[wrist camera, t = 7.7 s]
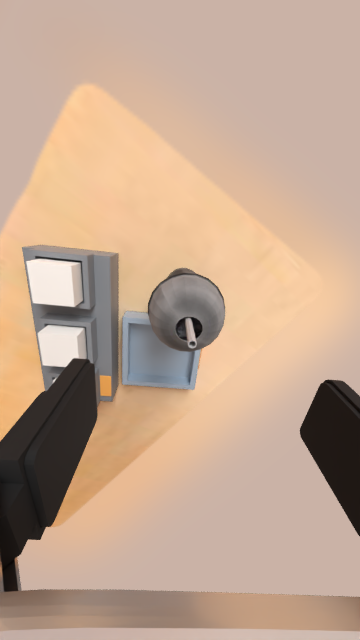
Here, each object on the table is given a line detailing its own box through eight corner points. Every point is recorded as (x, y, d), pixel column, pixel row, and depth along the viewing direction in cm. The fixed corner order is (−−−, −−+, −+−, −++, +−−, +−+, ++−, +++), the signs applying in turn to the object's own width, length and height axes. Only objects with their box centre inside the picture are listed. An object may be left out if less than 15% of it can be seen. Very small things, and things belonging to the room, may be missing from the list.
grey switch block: (118, 385, 38) (104, 422, 30) (59, 380, 37) (30, 418, 30) (118, 252, 29) (98, 259, 22) (41, 244, 29) (-6, 248, 21)
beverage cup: (160, 309, 32) (140, 415, 14) (154, 260, 30) (118, 308, 11) (208, 305, 32) (253, 406, 14) (207, 255, 29) (260, 297, 11)
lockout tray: (194, 379, 37) (195, 389, 35) (125, 374, 37) (122, 384, 34) (204, 318, 33) (206, 324, 31) (126, 310, 32) (122, 317, 30)
